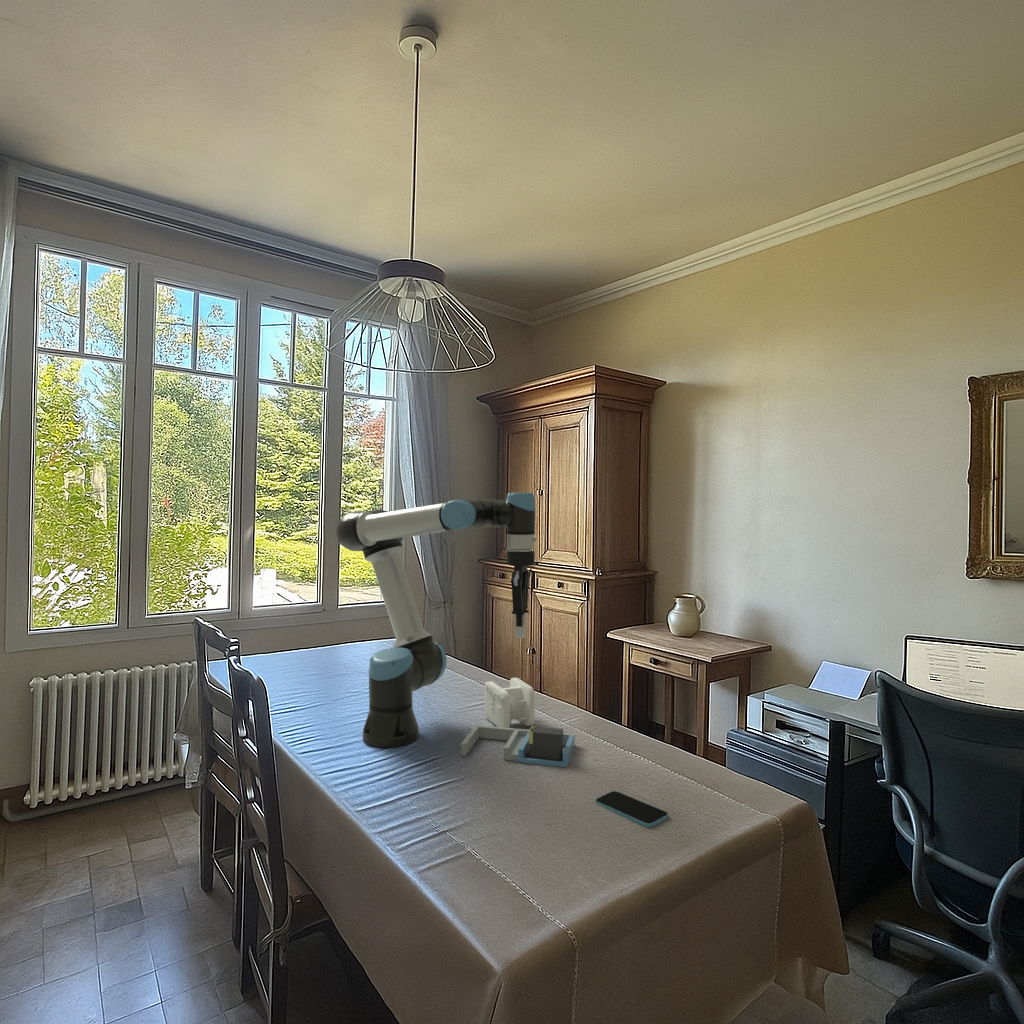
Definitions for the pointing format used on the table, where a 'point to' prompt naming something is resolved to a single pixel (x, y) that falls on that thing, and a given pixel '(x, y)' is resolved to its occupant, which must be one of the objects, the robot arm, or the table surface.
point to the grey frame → (516, 744)
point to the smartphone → (632, 809)
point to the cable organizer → (509, 703)
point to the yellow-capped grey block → (546, 743)
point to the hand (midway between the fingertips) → (520, 637)
